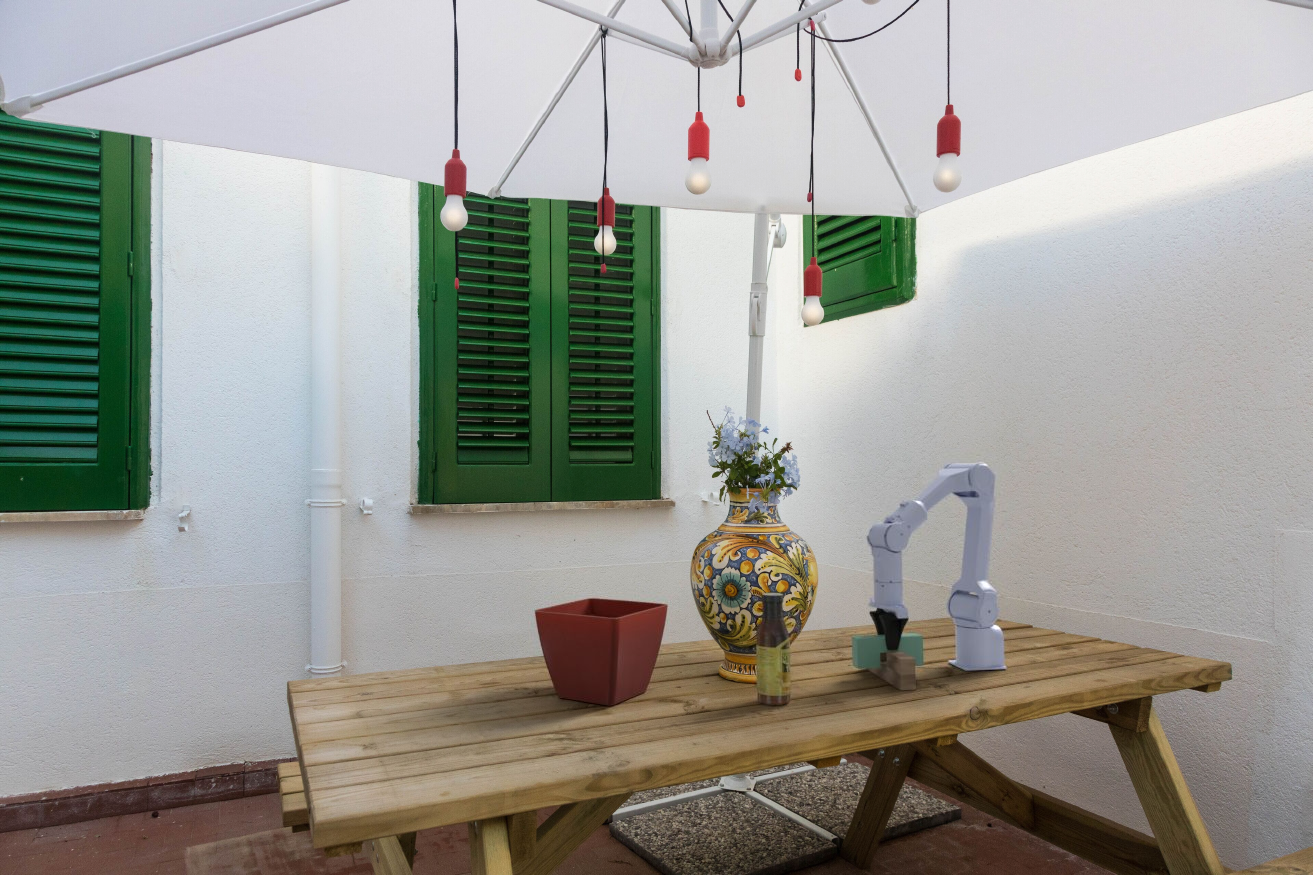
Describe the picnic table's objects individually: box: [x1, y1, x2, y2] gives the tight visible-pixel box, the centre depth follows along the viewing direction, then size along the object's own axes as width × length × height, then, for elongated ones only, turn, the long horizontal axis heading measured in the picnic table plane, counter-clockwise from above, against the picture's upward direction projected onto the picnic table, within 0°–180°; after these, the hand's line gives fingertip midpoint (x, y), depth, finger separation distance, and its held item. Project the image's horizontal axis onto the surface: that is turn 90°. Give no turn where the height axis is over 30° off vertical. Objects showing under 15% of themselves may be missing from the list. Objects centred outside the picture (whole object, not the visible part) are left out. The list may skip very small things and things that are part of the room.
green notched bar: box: [851, 632, 925, 670], centre depth 173 cm, size 14×3×6 cm, turn 98°
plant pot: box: [534, 597, 668, 706], centre depth 162 cm, size 19×19×17 cm
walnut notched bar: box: [866, 651, 917, 691], centre depth 172 cm, size 18×3×6 cm, turn 8°
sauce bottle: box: [755, 592, 792, 706], centre depth 156 cm, size 6×6×20 cm
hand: (889, 647), depth 173 cm, fingers closed on green notched bar, 3 cm apart
